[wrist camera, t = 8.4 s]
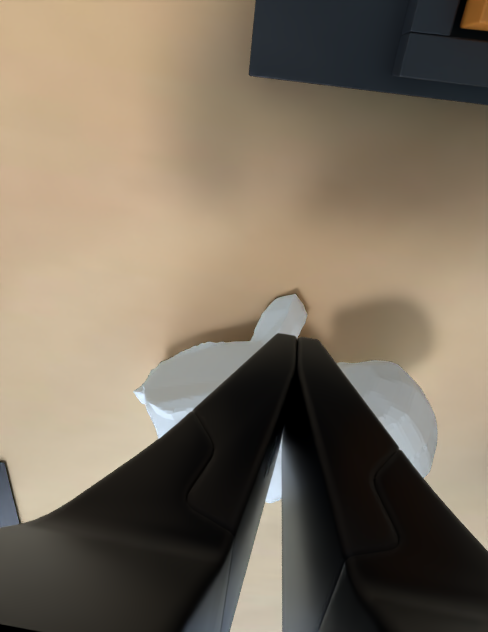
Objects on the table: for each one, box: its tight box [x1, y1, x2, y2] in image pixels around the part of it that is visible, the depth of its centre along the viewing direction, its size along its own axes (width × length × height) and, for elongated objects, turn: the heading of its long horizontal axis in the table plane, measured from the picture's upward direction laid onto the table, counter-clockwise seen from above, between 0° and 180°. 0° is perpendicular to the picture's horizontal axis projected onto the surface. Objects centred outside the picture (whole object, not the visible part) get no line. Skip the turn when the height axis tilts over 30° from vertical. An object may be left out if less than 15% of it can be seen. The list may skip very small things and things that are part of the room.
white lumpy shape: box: [133, 294, 437, 503], centre depth 22 cm, size 9×8×15 cm
